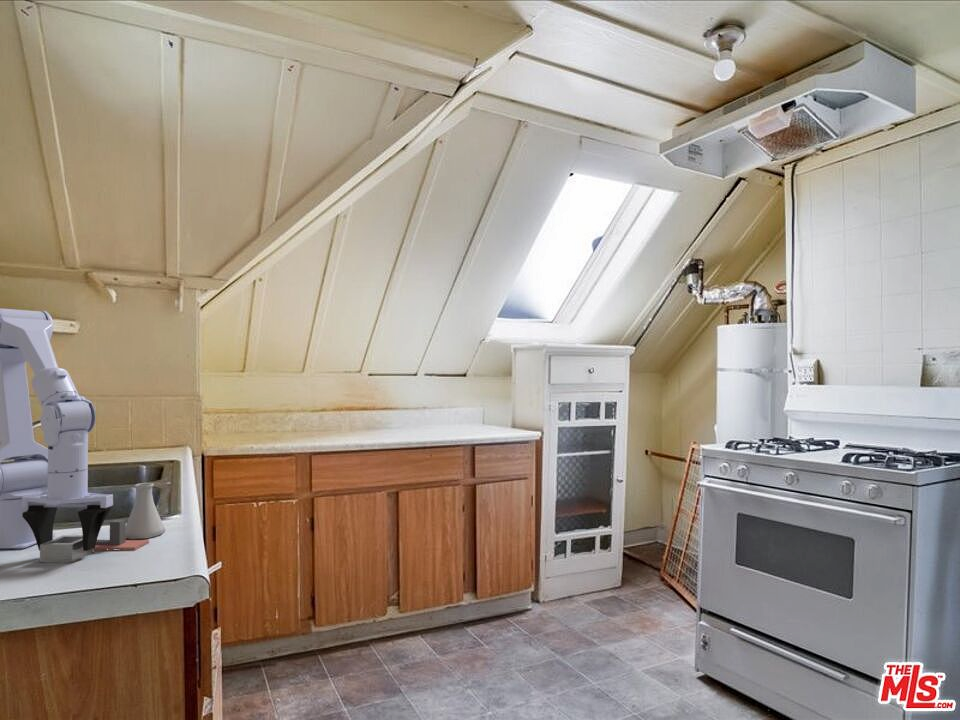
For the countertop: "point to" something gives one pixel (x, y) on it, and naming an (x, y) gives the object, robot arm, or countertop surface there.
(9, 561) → the countertop surface
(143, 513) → the flask
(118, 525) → the keeper hook
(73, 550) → the link
